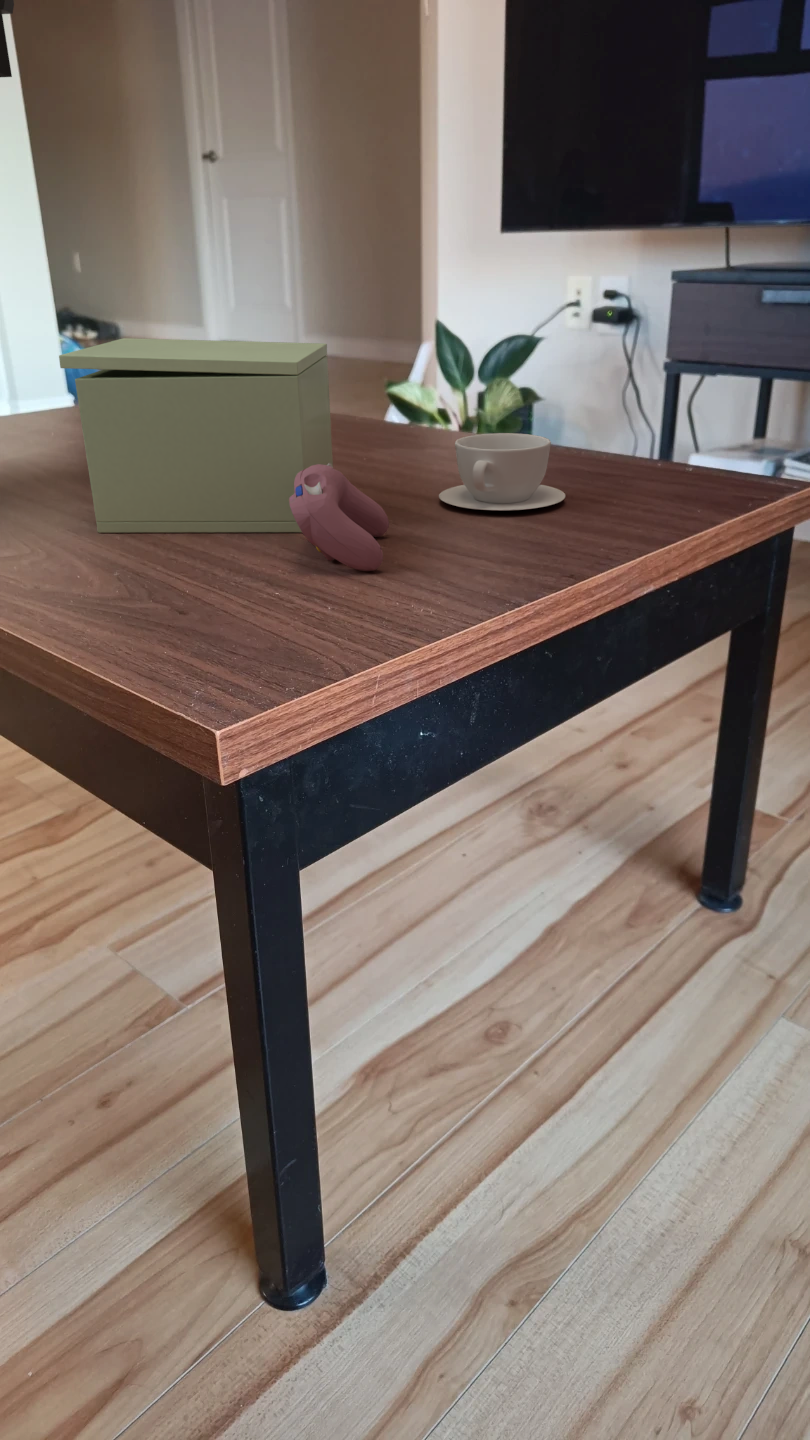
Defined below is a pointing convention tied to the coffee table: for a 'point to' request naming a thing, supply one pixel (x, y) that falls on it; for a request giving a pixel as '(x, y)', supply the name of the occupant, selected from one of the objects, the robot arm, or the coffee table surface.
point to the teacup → (502, 473)
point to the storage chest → (201, 447)
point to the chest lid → (197, 356)
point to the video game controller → (338, 517)
